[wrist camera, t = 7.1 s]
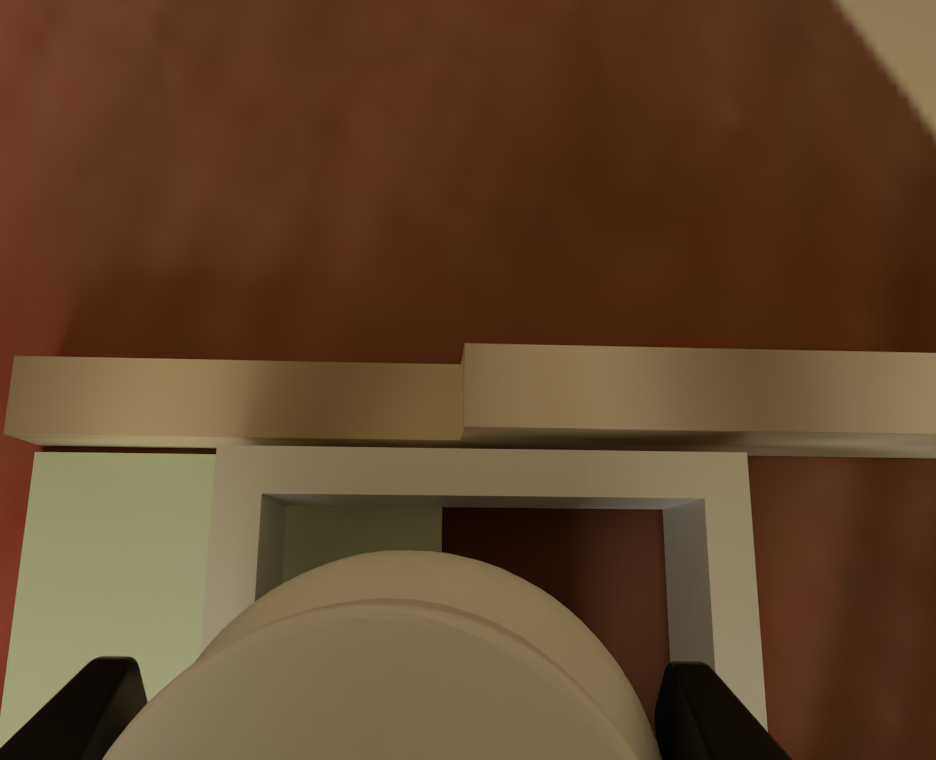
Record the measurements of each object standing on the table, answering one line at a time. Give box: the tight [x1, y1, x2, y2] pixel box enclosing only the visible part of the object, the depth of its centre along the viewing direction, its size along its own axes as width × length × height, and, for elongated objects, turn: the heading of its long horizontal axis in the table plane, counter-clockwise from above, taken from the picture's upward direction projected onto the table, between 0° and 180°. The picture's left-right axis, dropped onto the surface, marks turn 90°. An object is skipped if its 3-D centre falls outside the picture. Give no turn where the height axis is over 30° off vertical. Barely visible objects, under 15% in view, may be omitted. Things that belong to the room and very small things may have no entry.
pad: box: [0, 452, 442, 748], centre depth 15 cm, size 8×10×1 cm
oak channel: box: [3, 343, 936, 458], centre depth 15 cm, size 28×13×3 cm, turn 90°
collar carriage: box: [200, 445, 768, 732], centre depth 14 cm, size 9×9×2 cm
